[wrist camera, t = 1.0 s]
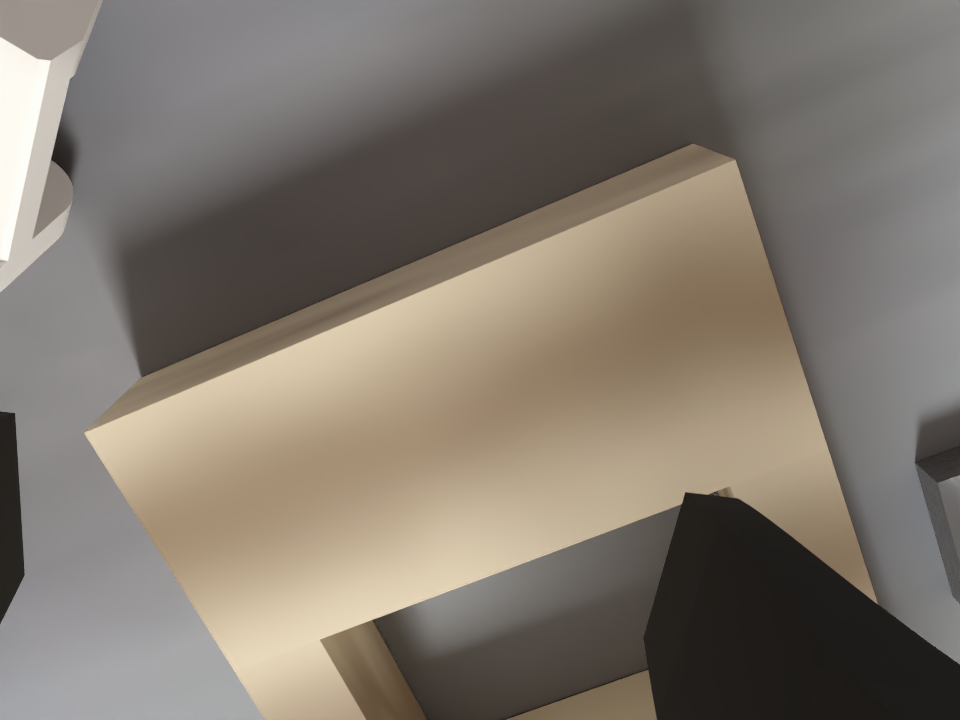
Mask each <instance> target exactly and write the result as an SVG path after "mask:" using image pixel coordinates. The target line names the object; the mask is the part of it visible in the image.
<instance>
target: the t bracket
mask: <svg viewBox="0 0 960 720" xmlns="http://www.w3.org/2000/svg"><path fill="white" fill-rule="evenodd" d="M915 465H916V469H917V472H918V476H919V479H920V483H921V486H922V490H923V493H924V497H925V500H926V504H927V507H928V511H929V514H930V518H931V521H932V525H933V529H934V532H935V536H936V539H937V543H938V546H939V550H940V553H941V557H942V560H943V564H944V567H945V571H946V574H947V578H948V581H949V585H950V588H951V592H952V595H953V597H954V598H955V599H956V600H957V601H958V602H959V604H960V446H958V447H955V448H952V449H950V450H947V451H944V452H941V453H939V454H936V455H933V456H931V457H928V458H925V459H922V460H920V461H917V462H915Z"/></svg>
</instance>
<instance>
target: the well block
mask: <svg viewBox="0 0 960 720" xmlns="http://www.w3.org/2000/svg"><path fill="white" fill-rule="evenodd" d="M84 434H85V435H86V437H87V438H88V440H89V441H90V443H91V445H92V446H93V448H94V449H95V451H96V453H97V454H98V456H99V457H100V459H101V460H102V462H103V464H104V465H105V467H106V468H107V470H108V472H109V473H110V475H111V476H112V478H113V479H114V481H115V483H116V484H117V486H118V487H119V489H120V491H121V492H122V494H123V495H124V497H125V498H126V500H127V502H128V503H129V505H130V506H131V508H132V510H133V511H134V513H135V514H136V516H137V517H138V519H139V521H140V522H141V524H142V525H143V527H144V529H145V530H146V532H147V533H148V535H149V536H150V538H151V540H152V541H153V543H154V544H155V546H156V548H157V549H158V551H159V552H160V554H161V555H162V557H163V559H164V560H165V562H166V563H167V565H168V567H169V568H170V570H171V571H172V573H173V574H174V576H175V578H176V579H177V581H178V582H179V584H180V586H181V587H182V589H183V590H184V592H185V593H186V595H187V597H188V598H189V600H190V601H191V603H192V605H193V606H194V608H195V609H196V611H197V612H198V614H199V616H200V617H201V619H202V620H203V622H204V624H205V625H206V627H207V628H208V630H209V631H210V633H211V635H212V636H213V638H214V639H215V641H216V643H217V644H218V646H219V647H220V649H221V650H222V652H223V654H224V655H225V657H226V658H227V660H228V662H229V663H230V665H231V666H232V668H233V669H234V671H235V673H236V674H237V676H238V677H239V679H240V681H241V682H242V684H243V685H244V687H245V688H246V690H247V692H248V693H249V695H250V696H251V698H252V700H253V701H254V703H255V704H256V706H257V707H258V709H259V711H260V712H261V714H262V715H263V717H264V719H265V720H427V718H426V716H425V714H424V713H423V711H422V709H421V707H420V705H419V704H418V702H417V700H416V698H415V696H414V695H413V693H412V691H411V689H410V687H409V685H408V684H407V682H406V680H405V678H404V676H403V675H402V673H401V671H400V669H399V667H398V666H397V664H396V662H395V660H394V658H393V657H392V655H391V653H390V651H389V649H388V648H387V646H386V644H385V642H384V640H383V639H382V637H381V635H380V633H379V631H378V630H377V628H376V626H375V624H374V622H373V619H376V618H379V617H381V616H384V615H387V614H389V613H392V612H395V611H397V610H400V609H403V608H405V607H408V606H411V605H413V604H416V603H419V602H422V601H424V600H427V599H430V598H432V597H435V596H438V595H440V594H443V593H446V592H448V591H451V590H454V589H456V588H459V587H462V586H464V585H467V584H470V583H472V582H475V581H478V580H480V579H483V578H486V577H488V576H491V575H494V574H496V573H499V572H502V571H504V570H507V569H510V568H512V567H515V566H518V565H520V564H523V563H526V562H528V561H531V560H534V559H537V558H539V557H542V556H545V555H547V554H550V553H553V552H555V551H558V550H561V549H563V548H566V547H569V546H571V545H574V544H577V543H579V542H582V541H585V540H587V539H590V538H593V537H595V536H598V535H601V534H603V533H606V532H609V531H611V530H614V529H617V528H619V527H622V526H625V525H627V524H630V523H633V522H635V521H638V520H641V519H644V518H646V517H649V516H652V515H654V514H657V513H660V512H662V511H665V510H668V509H670V508H673V507H676V506H678V505H681V504H682V502H683V498H684V495H685V492H688V493H697V494H705V495H708V494H710V493H713V492H716V491H718V494H719V496H722V497H731V498H738V499H740V500H742V501H743V502H745V503H746V504H748V505H750V506H751V507H753V508H754V509H755V510H757V511H758V512H760V513H761V514H763V515H764V516H765V517H767V518H768V519H769V520H771V521H772V522H773V523H775V524H776V525H777V526H779V527H780V528H781V529H783V530H784V531H785V532H786V533H788V534H789V535H790V536H792V537H793V538H794V539H795V540H797V541H798V542H799V543H801V544H802V545H803V546H804V547H806V548H807V549H808V550H809V551H811V552H812V553H813V554H814V555H816V556H817V557H818V558H819V559H821V560H822V561H823V562H824V563H826V564H827V565H828V566H830V567H831V568H832V569H833V570H835V571H836V572H837V573H838V574H840V575H841V576H842V577H843V578H845V579H846V580H847V581H849V582H850V583H851V584H852V585H854V586H855V587H856V588H857V589H859V590H860V591H861V592H863V593H864V594H865V595H866V596H868V597H869V598H870V599H872V600H873V601H874V602H875V603H877V599H876V596H875V593H874V590H873V587H872V584H871V581H870V578H869V575H868V571H867V568H866V565H865V562H864V559H863V556H862V553H861V550H860V546H859V543H858V540H857V537H856V534H855V531H854V528H853V525H852V522H851V518H850V515H849V512H848V509H847V506H846V503H845V500H844V497H843V493H842V490H841V487H840V484H839V481H838V478H837V475H836V472H835V469H834V465H833V462H832V459H831V456H830V453H829V450H828V447H827V444H826V440H825V437H824V434H823V431H822V428H821V425H820V422H819V419H818V416H817V412H816V409H815V406H814V403H813V400H812V397H811V394H810V391H809V387H808V384H807V381H806V378H805V375H804V372H803V369H802V366H801V363H800V359H799V356H798V353H797V350H796V347H795V344H794V341H793V338H792V334H791V331H790V328H789V325H788V322H787V319H786V316H785V313H784V310H783V306H782V303H781V300H780V297H779V294H778V291H777V288H776V285H775V281H774V278H773V275H772V272H771V269H770V266H769V263H768V260H767V257H766V253H765V250H764V247H763V244H762V241H761V238H760V235H759V232H758V228H757V225H756V222H755V219H754V216H753V213H752V210H751V207H750V204H749V200H748V197H747V194H746V191H745V188H744V185H743V182H742V179H741V175H740V172H739V169H738V166H737V163H736V160H735V159H733V158H730V157H728V156H725V155H722V154H720V153H717V152H714V151H712V150H709V149H706V148H704V147H701V146H698V145H696V144H690V145H688V146H686V147H683V148H681V149H679V150H676V151H674V152H672V153H669V154H667V155H665V156H662V157H660V158H657V159H655V160H653V161H650V162H648V163H646V164H643V165H641V166H639V167H636V168H634V169H632V170H629V171H627V172H625V173H622V174H620V175H617V176H615V177H613V178H610V179H608V180H606V181H603V182H601V183H599V184H596V185H594V186H592V187H589V188H587V189H584V190H582V191H580V192H577V193H575V194H573V195H570V196H568V197H566V198H563V199H561V200H559V201H556V202H554V203H552V204H549V205H547V206H544V207H542V208H540V209H537V210H535V211H533V212H530V213H528V214H526V215H523V216H521V217H519V218H516V219H514V220H511V221H509V222H507V223H504V224H502V225H500V226H497V227H495V228H493V229H490V230H488V231H486V232H483V233H481V234H479V235H476V236H474V237H471V238H469V239H467V240H464V241H462V242H460V243H457V244H455V245H453V246H450V247H448V248H446V249H443V250H441V251H438V252H436V253H434V254H431V255H429V256H427V257H424V258H422V259H420V260H417V261H415V262H413V263H410V264H408V265H406V266H403V267H401V268H398V269H396V270H394V271H391V272H389V273H387V274H384V275H382V276H380V277H377V278H375V279H373V280H370V281H368V282H365V283H363V284H361V285H358V286H356V287H354V288H351V289H349V290H347V291H344V292H342V293H340V294H337V295H335V296H333V297H330V298H328V299H325V300H323V301H321V302H318V303H316V304H314V305H311V306H309V307H307V308H304V309H302V310H300V311H297V312H295V313H292V314H290V315H288V316H285V317H283V318H281V319H278V320H276V321H274V322H271V323H269V324H267V325H264V326H262V327H260V328H257V329H255V330H252V331H250V332H248V333H245V334H243V335H241V336H238V337H236V338H234V339H231V340H229V341H227V342H224V343H222V344H219V345H217V346H215V347H212V348H210V349H208V350H205V351H203V352H201V353H198V354H196V355H194V356H191V357H189V358H187V359H184V360H182V361H179V362H177V363H175V364H172V365H170V366H168V367H165V368H163V369H161V370H158V371H156V372H154V373H151V374H149V375H147V376H144V377H142V378H140V379H139V380H138V381H137V382H136V383H135V384H134V385H133V386H132V387H131V388H130V389H129V390H128V391H127V392H126V393H125V394H124V395H122V396H121V397H120V398H119V399H118V400H117V401H116V402H115V403H114V404H113V405H112V406H111V407H110V408H109V409H108V410H107V411H106V412H105V413H104V414H103V415H102V416H101V417H100V418H99V419H98V420H97V421H96V422H95V423H94V424H93V425H92V426H91V427H90V428H89V429H88V430H87V431H85V432H84ZM877 604H878V603H877ZM506 720H657V717H656V712H655V706H654V700H653V695H652V689H651V684H650V677H649V670H646V671H643V672H640V673H637V674H634V675H631V676H629V677H626V678H623V679H620V680H617V681H614V682H612V683H609V684H606V685H603V686H600V687H597V688H594V689H592V690H589V691H586V692H583V693H580V694H577V695H575V696H572V697H569V698H566V699H563V700H560V701H558V702H555V703H552V704H549V705H546V706H543V707H540V708H538V709H535V710H532V711H529V712H526V713H523V714H521V715H518V716H515V717H512V718H509V719H506Z"/></svg>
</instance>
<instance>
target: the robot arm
mask: <svg viewBox="0 0 960 720" xmlns="http://www.w3.org/2000/svg"><path fill="white" fill-rule="evenodd" d="M24 575H25V574H24V557H23V540H22V523H21V507H20V490H19V473H18V457H17V440H16V423H15V413H8V412H0V623H1V621H2V619H3V617H4V615H5V613H6V611H7V609H8V607H9V605H10V603H11V601H12V599H13V597H14V595H15V593H16V591H17V589H18V587H19V585H20V583H21V581H22V579H23V577H24ZM644 643H645V650H646V657H647V664H648V670H649V677H650V684H651V689H652V695H653V700H654V706H655V712H656V717H657V720H960V665H959V664H958V663H957V662H955V661H954V660H952V659H951V658H950V657H948V656H947V655H945V654H944V653H943V652H941V651H940V650H938V649H937V648H936V647H934V646H933V645H931V644H930V643H929V642H927V641H926V640H924V639H923V638H922V637H920V636H919V635H918V634H916V633H915V632H914V631H912V630H911V629H910V628H908V627H907V626H906V625H904V624H903V623H902V622H900V621H899V620H898V619H896V618H895V617H894V616H892V615H891V614H890V613H888V612H887V611H886V610H885V609H883V608H882V607H881V606H879V605H878V604H877V603H875V602H874V601H873V600H872V599H870V598H869V597H868V596H866V595H865V594H864V593H863V592H861V591H860V590H859V589H857V588H856V587H855V586H854V585H852V584H851V583H850V582H849V581H847V580H846V579H845V578H843V577H842V576H841V575H840V574H838V573H837V572H836V571H835V570H833V569H832V568H831V567H830V566H828V565H827V564H826V563H824V562H823V561H822V560H821V559H819V558H818V557H817V556H816V555H814V554H813V553H812V552H811V551H809V550H808V549H807V548H806V547H804V546H803V545H802V544H801V543H799V542H798V541H797V540H795V539H794V538H793V537H792V536H790V535H789V534H788V533H786V532H785V531H784V530H783V529H781V528H780V527H779V526H777V525H776V524H775V523H773V522H772V521H771V520H769V519H768V518H767V517H765V516H764V515H763V514H761V513H760V512H758V511H757V510H755V509H754V508H753V507H751V506H750V505H748V504H746V503H745V502H743V501H742V500H740V499H738V498H731V497H722V496H714V495H705V494H697V493H688V492H685V495H684V498H683V502H682V505H681V509H680V512H679V516H678V519H677V523H676V526H675V530H674V533H673V537H672V540H671V544H670V547H669V551H668V554H667V558H666V561H665V565H664V568H663V572H662V575H661V579H660V582H659V586H658V589H657V593H656V596H655V600H654V603H653V607H652V610H651V614H650V617H649V621H648V624H647V628H646V631H645V635H644Z"/></svg>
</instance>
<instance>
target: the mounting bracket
mask: <svg viewBox="0 0 960 720" xmlns="http://www.w3.org/2000/svg"><path fill="white" fill-rule="evenodd" d="M102 2H103V0H0V292H1V291H2V290H3V289H4V288H6V287H7V286H8V285H9V284H10V283H11V282H12V281H13V280H14V279H15V278H16V277H17V276H19V275H20V274H21V273H22V272H23V271H24V270H25V269H26V268H27V267H28V266H29V265H30V264H32V263H33V262H34V261H35V260H36V259H37V258H38V257H39V256H40V255H41V254H42V253H43V252H45V251H46V250H47V249H48V248H49V247H50V246H51V245H52V244H53V243H54V242H55V241H57V240H58V239H59V237H60V236H61V235H62V234H63V232H64V229H65V227H66V223H67V219H68V215H69V212H70V208H71V204H72V200H73V194H74V190H73V186H72V183H71V181H70V179H69V177H68V175H67V174H66V173H65V172H64V170H63V169H62V168H61V167H59V166H58V165H57V164H56V163H55V162H53V161H52V160H51V157H52V153H53V149H54V144H55V140H56V136H57V132H58V127H59V123H60V119H61V115H62V110H63V106H64V102H65V98H66V93H67V89H68V85H69V81H70V78H71V77H73V76H74V75H75V73H76V70H77V68H78V65H79V62H80V60H81V57H82V55H83V52H84V49H85V47H86V44H87V41H88V39H89V36H90V34H91V31H92V28H93V26H94V23H95V20H96V18H97V15H98V13H99V10H100V7H101V5H102Z"/></svg>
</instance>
